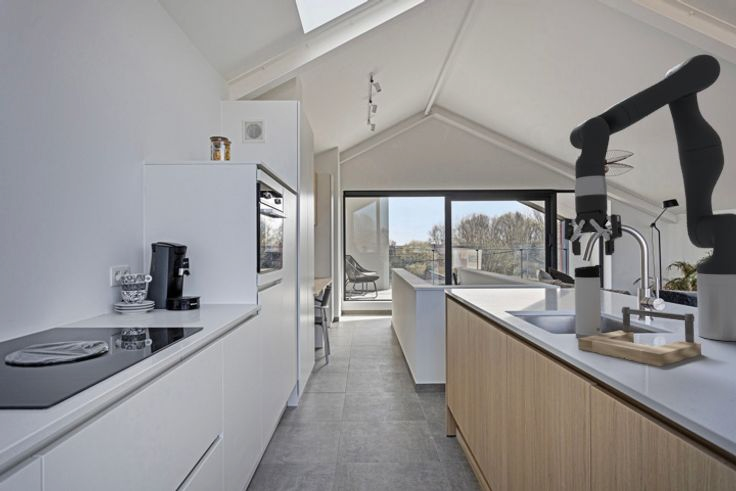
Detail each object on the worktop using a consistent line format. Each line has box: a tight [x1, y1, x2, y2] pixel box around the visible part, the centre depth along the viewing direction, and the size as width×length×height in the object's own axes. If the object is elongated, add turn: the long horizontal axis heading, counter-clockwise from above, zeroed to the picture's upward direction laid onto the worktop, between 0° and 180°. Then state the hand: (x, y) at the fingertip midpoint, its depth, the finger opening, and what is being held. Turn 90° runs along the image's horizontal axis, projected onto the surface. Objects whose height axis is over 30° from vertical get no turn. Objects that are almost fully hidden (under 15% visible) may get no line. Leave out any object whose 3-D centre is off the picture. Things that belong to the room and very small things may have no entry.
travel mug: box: [574, 264, 602, 338], centre depth 112 cm, size 6×7×20 cm
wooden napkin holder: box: [577, 306, 702, 367], centre depth 96 cm, size 18×18×9 cm
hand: (592, 255), depth 108 cm, fingers open, 8 cm apart
